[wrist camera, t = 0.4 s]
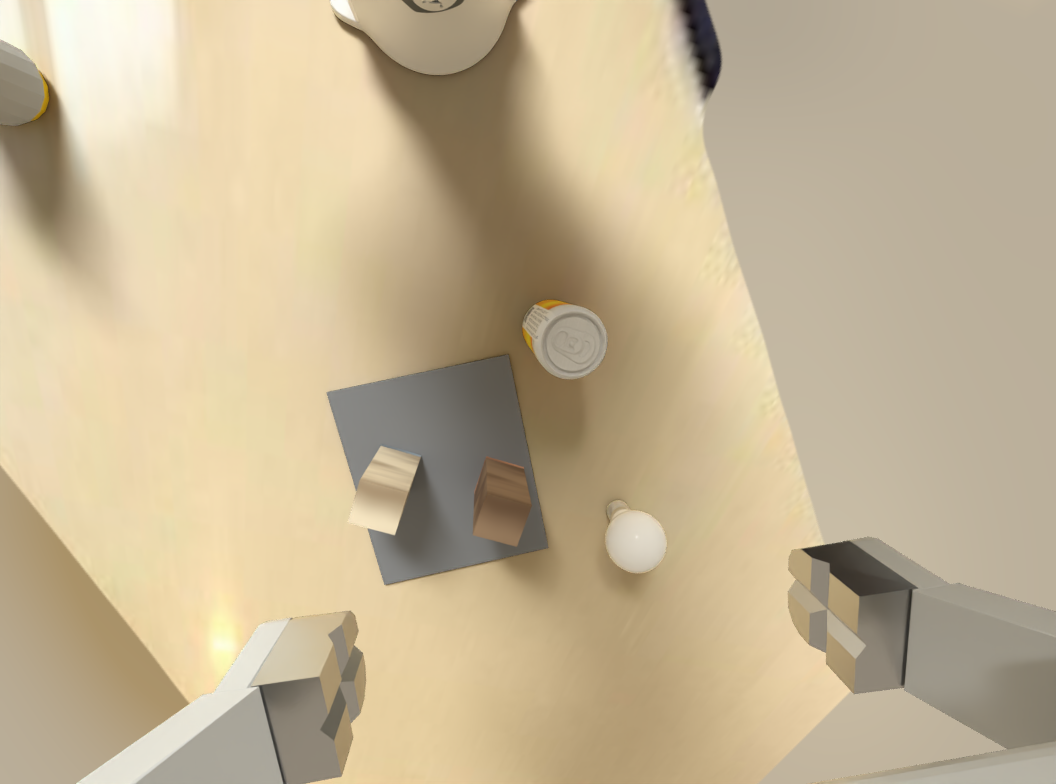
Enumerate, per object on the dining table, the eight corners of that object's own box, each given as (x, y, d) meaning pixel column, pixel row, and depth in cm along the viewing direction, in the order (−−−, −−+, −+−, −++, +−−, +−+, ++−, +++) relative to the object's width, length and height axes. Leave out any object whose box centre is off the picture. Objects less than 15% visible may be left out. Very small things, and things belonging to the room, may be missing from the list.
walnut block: (511, 502, 58) (517, 547, 48) (474, 491, 57) (472, 535, 47) (523, 467, 57) (532, 505, 47) (486, 456, 56) (486, 493, 46)
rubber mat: (327, 392, 53) (326, 392, 53) (508, 354, 54) (508, 354, 54) (385, 582, 59) (384, 584, 58) (547, 546, 60) (548, 547, 59)
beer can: (562, 363, 55) (591, 393, 40) (512, 341, 54) (523, 364, 39) (585, 313, 54) (623, 325, 39) (535, 290, 53) (555, 293, 38)
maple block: (410, 491, 56) (395, 535, 46) (370, 480, 55) (347, 523, 46) (421, 455, 55) (408, 492, 46) (381, 444, 55) (359, 479, 45)
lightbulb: (625, 473, 59) (657, 516, 48) (650, 514, 60) (687, 564, 49) (580, 501, 59) (602, 550, 48) (606, 541, 60) (633, 597, 50)
